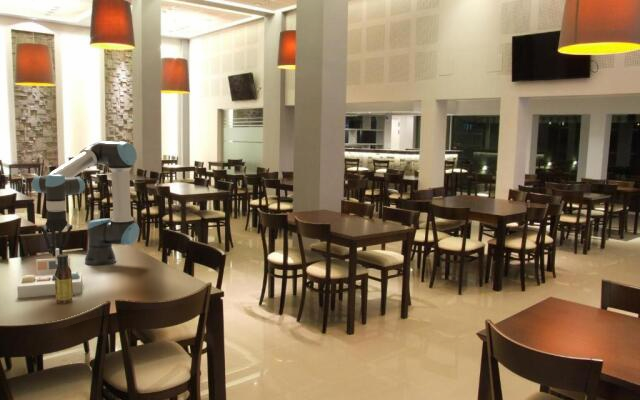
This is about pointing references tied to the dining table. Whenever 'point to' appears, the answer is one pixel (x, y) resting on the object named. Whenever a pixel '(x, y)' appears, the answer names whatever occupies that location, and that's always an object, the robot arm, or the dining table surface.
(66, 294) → the sauce bottle
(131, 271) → the dining table surface
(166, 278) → the dining table surface
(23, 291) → the keypad
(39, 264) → the placard
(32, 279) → the key
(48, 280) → the key
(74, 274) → the key
